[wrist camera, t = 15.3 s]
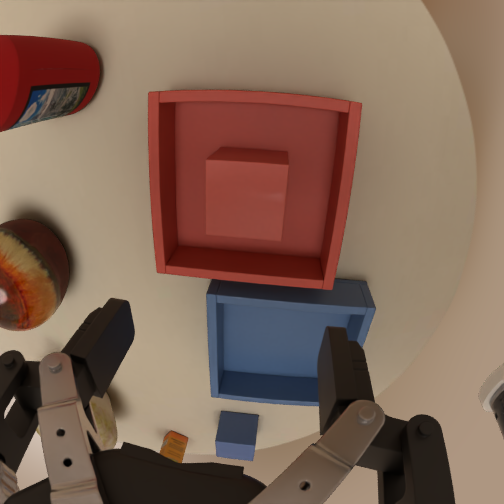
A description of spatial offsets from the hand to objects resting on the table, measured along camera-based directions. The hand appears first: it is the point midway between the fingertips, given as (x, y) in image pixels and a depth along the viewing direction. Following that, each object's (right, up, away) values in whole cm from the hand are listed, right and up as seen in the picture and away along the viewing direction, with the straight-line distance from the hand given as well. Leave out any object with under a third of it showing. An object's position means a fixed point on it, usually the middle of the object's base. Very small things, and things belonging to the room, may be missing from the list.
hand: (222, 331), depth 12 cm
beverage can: (-14, +18, +9) cm, 25 cm away
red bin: (+1, +9, +12) cm, 15 cm away
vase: (-22, +3, +18) cm, 29 cm away
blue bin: (+4, -5, +19) cm, 20 cm away
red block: (+1, +9, +12) cm, 14 cm away
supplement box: (-11, -26, +32) cm, 43 cm away
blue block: (-1, -20, +27) cm, 34 cm away
